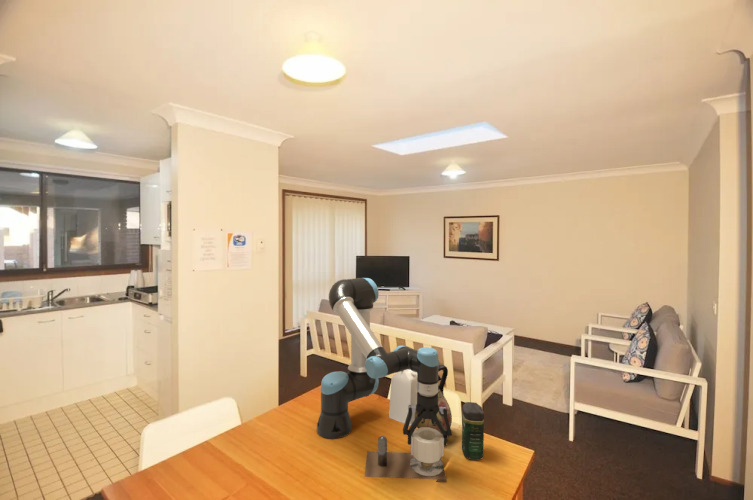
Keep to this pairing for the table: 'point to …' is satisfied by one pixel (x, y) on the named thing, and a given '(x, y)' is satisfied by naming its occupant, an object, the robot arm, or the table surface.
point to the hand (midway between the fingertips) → (427, 453)
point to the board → (395, 467)
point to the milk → (403, 395)
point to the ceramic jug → (441, 403)
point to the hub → (426, 467)
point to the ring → (427, 445)
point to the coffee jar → (472, 431)
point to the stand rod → (382, 451)
